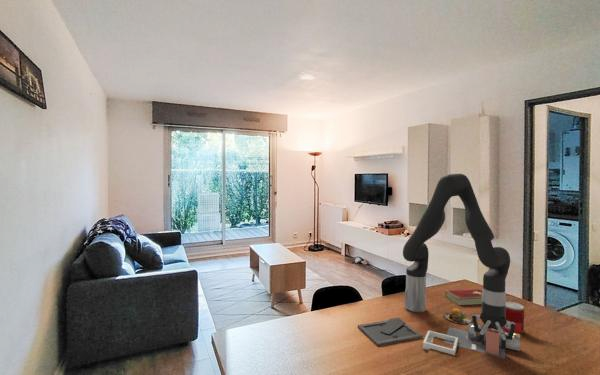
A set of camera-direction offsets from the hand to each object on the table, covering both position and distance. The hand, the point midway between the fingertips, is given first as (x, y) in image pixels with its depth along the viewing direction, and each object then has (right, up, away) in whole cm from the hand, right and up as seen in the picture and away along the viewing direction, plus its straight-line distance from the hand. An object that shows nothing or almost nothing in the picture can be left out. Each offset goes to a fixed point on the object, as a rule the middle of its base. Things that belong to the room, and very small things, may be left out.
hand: (492, 345), depth 116 cm
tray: (-17, -3, +5) cm, 18 cm away
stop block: (0, -2, 0) cm, 2 cm away
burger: (+1, -3, +27) cm, 27 cm away
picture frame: (-34, -3, +16) cm, 38 cm away
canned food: (+20, -3, +18) cm, 27 cm away
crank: (+3, -1, +5) cm, 6 cm away
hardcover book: (+20, -2, +51) cm, 55 cm away
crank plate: (-3, -3, +7) cm, 8 cm away
